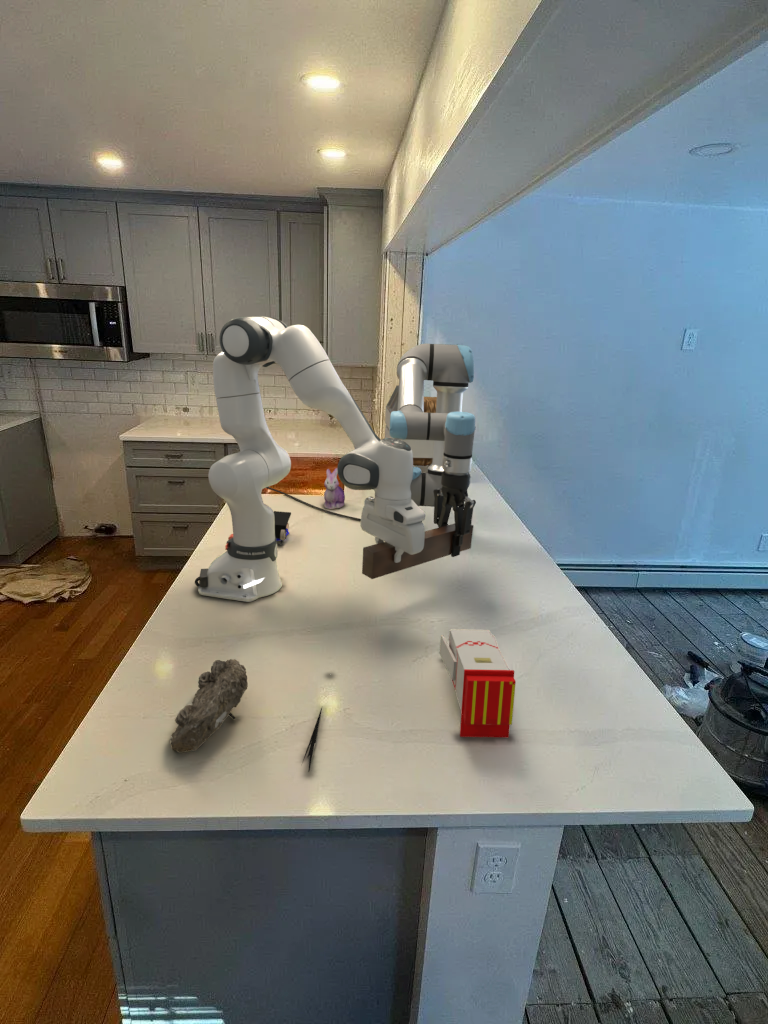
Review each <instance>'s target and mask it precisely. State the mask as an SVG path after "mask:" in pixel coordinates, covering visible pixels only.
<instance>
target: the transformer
mask: <svg viewBox="0 0 768 1024" xmlns="http://www.w3.org/2000/svg"><path fill="white" fill-rule="evenodd" d="M398 395H399V384H397V385H396V386H395V388H394V389H393V392H392V393H391V395H390V398H389V400H388V402H387V403H386V405H385V413H384V414H385V416H384V424H385V425H384V426H385V427H384V438H392V437H391V436H390V434H389V432H390V414H391V412H393V411H398ZM436 402H437V396H424V412H426V413H436ZM394 439H398V438H394ZM399 440H402V441H404V442H406V443H407V444H408V445H409V446H410V447H411V449H412V453H413V467H426V466H427V467H429V466H430V465H431V464H432V461H433V446H434V440H414V439H404V440H403V439H399Z"/></svg>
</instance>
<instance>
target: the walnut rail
mask: <svg viewBox="0 0 768 1024" xmlns="http://www.w3.org/2000/svg"><path fill="white" fill-rule="evenodd" d="M454 533H455V522H454V523H450V524H448V525H447V526H443V527H435V528H431V529H428V530H425V539H424V548H423V550H422V551H421V552H419V553H416V554H413V555H411V554H409V553H407V552H405V551H404V552H403V554H402V555H401V561H400V562H398V563H395V562H394V561H392V555H393V554H395V553H396V550H395V546H393V545H391V544H389V543H387V542H385V541H384V542H382V543H379V544H376V543H375V544H372V545H367V546H363V548H362V563H361V565H362V566H361V567H362V568H361V570H362V571H361V574H362V575H364V576H365V577H367V578H369V579H370V580H375V579H378V578H381V577H385V576H387V575H391V574H393V573H396V572H399V571H403V570H406V569H410V568H413V567H416V566H419V565H422V564H426V563H428V562H431V561H435V560H438V559H441V558H444V557H447V556H451V551H452V540H453V534H454ZM473 533H474V525H473V524H471V529H470V533H469V534H466V535H463V544H462V545H461V547H460V553H461V552H463V551H467V550H471V548H472V542H473V540H472V539H473Z"/></svg>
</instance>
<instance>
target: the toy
mask: <svg viewBox="0 0 768 1024" xmlns="http://www.w3.org/2000/svg"><path fill="white" fill-rule="evenodd" d="M438 654H439V656H440V658H441V660H442V662H443V665H444V666H445V668H446V671H447V673H448V675H449V677H450V681H451V683H452V685H453V689H454V690H455V695H456V698H457V702H458V705H459V708H460V726H459V737H460V738H509V737H510V728H511V727H510V726H512V725H513V717H514V706H515V705H514V704H515V693H516V684H517V683H516V679H515V670H514V669H510V667H509V666H508V663H507V662H506V660H505V658H504V655H503V654H502V652H501V650H500V648H499V644H498V642H497V638H496V635H495V634H492V632H491V631H490V629H467V628H466V629H465V628H463V629H461V628H460V629H459V628H450V629H449V631H448V641H447V639H446V638H445V636H444V634H443V635H442V634H441V635H440V641H439V651H438Z"/></svg>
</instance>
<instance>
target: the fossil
mask: <svg viewBox="0 0 768 1024" xmlns="http://www.w3.org/2000/svg"><path fill="white" fill-rule="evenodd" d="M197 683H198V684H197V687H198V690H197V691H196V693H195V694H194V697H193V698H192V701H191V704H187V705H185V706H184V707H183V708H182V709H181V710H179V712H178V713H177V715H176V717H175V719H174V721H175V723H176V725H177V726H176V728H175V730H174V731H173V732H172V733H171V735H170V736H171V738H170V747H171V750H172V751H176V752H178V753H186V752H190V751H193V752H195V751H197V750H198V749H199V748H200V747H201V746H202V745H203V744H204V743H205V742H207V741H208V740H209V739H210V737H211V736H212V735H213V734H215V733H216V731H218V730H219V729H220V728H221V726H222V725H223V723H224V721H225V720H226V719H227V718H228V717H230V718H232V720H235V719H236V716H235V715H234V714H233V713H232V710H233V709H235V708H237V706H238V705H239V704H240V702H241V700H242V698H243V696H244V693H245V691H246V690H247V689H248V686H249V685H248V675H247V669H246V668H245V666H244V665H243V664H241V663H240V661H238V660H237V659H236V658H234V659H232V658H230V659H226V660H221V659H216V660H214V661H213V662H212V665H211V667H210V671H208V670H207V671H205V672H201V674H200V675H199V676H198V681H197Z"/></svg>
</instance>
